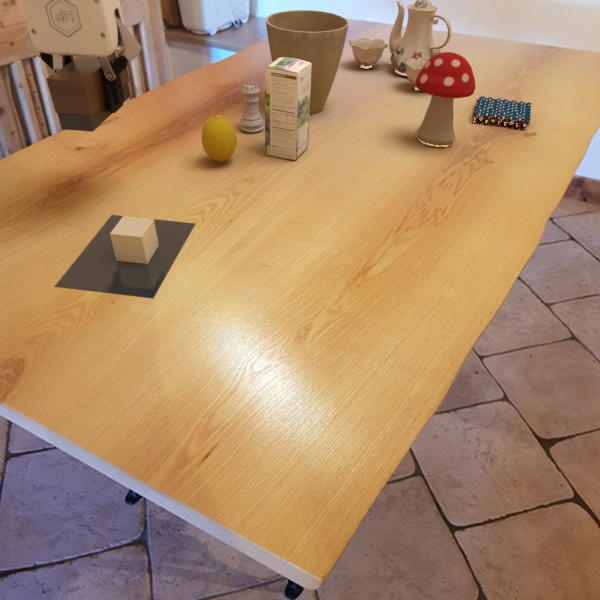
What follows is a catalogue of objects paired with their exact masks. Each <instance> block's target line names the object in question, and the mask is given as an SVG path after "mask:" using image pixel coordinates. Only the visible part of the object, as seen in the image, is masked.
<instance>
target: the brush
mask: <svg viewBox="0 0 600 600" xmlns="http://www.w3.org/2000/svg"><path fill="white" fill-rule="evenodd" d="M124 51H125V49H116V52H117V54H118V57H119V56H120V55H121V54H122V53H124ZM120 77H121V82H122V87H123V92H124V98H125V100H124V103H125V102H126V101H127V100H128V99H130V98H131V91H130V85H129V82H130V78H129V72H128V66H127V67H126V68H125V69H124V71H123V73H122V74H120ZM105 79H106V78H105V75H104V72H103V70H102V68H101V65H100V63H99V61H98V58H97V57H89V56H77V57H76V58H74V59H73V61H72V62H70V63H69V64H67V65H66V66H64V67H63V68H61V69H60V70H58V71H57V72H55V73H54V72H53V74H51V75H49V76H48V77H47V78H45V81H46V83H47V87H48V90H49V91H48V92H49V94H50V97H51V101H52V105H53V109H54V112H55V114H57V117H58V120H59V124H60V128H61V130H64V131H65V130H67V131H79V132H94V131H95V130H97V129H98V128H99V127H100V126H101V125H102V124H104V122H105V121H106V120H107V119H108V118H109V117H110V116H111V115H113V113H110V112H109V111H108V107H107V103H106V97H105V93H104V88H103V81H104V80H105Z"/></svg>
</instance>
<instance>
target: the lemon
mask: <svg viewBox="0 0 600 600" xmlns="http://www.w3.org/2000/svg"><path fill="white" fill-rule="evenodd" d="M237 139H238V137H237V132H236V129H235V126H234V125H233V123H232V122H231V120H229V119H228V118H227V117H225V116H222V115H220V114H218V113H217V114H214V115H213V116H211V117H209V118H208V119H207V120H206V121H205V123H204V124H203V126H202V129H201V144H202V148H203V150H204V152H205V153H206V155H207V156H208V157H209V158H210V159H212V160H214V161H217V162H218V163H221V164H222V163H224V162H225V161H226V160H228V159H231V157H232V156H233V155H234V154H235V152H236V150H237V145H238V144H237V143H238V140H237Z"/></svg>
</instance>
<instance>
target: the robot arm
mask: <svg viewBox="0 0 600 600" xmlns="http://www.w3.org/2000/svg"><path fill="white" fill-rule="evenodd" d="M21 2H22V8H23V12H24V16H25V21H26V25H27V29H28V33H27V35H26V39H25V41H24V46H25V48H26V49H27V50H28V51H30V53H33V54H34V55H35V56H37V57H38V58H40V59H41V60H42V62H43V63H44V64H46V65H47V66H48V67H49V68H50V69H51V70H52V71H53V74H54V73H55V72H57V71H58V70H60V69H61V68H63V67H64V66H66V65H67V64H69V63H70V62H72V61H73V60H74V56H75V57H79V56H89V57H97V58H98V61H99V63H100V65H101V68H102V70H103V72H104V75H105V78H106V79H105V80H104V81H103V88H104V93H105V97H106V103H107V107H108V111H109V112H110V113H112V114H116V113H117V112H118V111H119V110H120V109H121V108H122V107H123V106H124V103H125V102H124V100H125V98H124V92H123V87H122V82H121V77H120V74H122V73H123V71H124V69H125V68H126V67H127V68H128V66H129V65H130V63H131V62H132V61H133V60H134V59H136V58H137V57H138V56H139V55H141V54H142V53H143V47H142V45H141V44H140V43H139V41H138V40H137V39H136V37H134V35H133V34H132V33H131V32H130V29H128V27H127V26H126V24H125V20H124V14H123V10H122V5H121V2H120V0H21ZM120 47H123V48H124V53H122V54H121V55H120V56H119V57H118V54H117V52H116V50H118V48H120Z"/></svg>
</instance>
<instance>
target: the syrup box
mask: <svg viewBox="0 0 600 600" xmlns="http://www.w3.org/2000/svg"><path fill="white" fill-rule="evenodd" d="M311 67H312V63H310V62H307V61H304V60H300V59H295V58H286V57H279V58H278V59H277V60H275V61H274V62H273V63H270V64H268V65H267V66H265V67H264V138H265V139H264V141H265V142H264V154H265V155H266V156H269V157H275V158H281V159H284V160H285V159H286V160H292V161H297V160H298V159H299V158H300V156H301V155H303V154H304V152H305V151H306V150H307V149H308V147H309V132H310V114H309V113H310V90H311Z"/></svg>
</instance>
